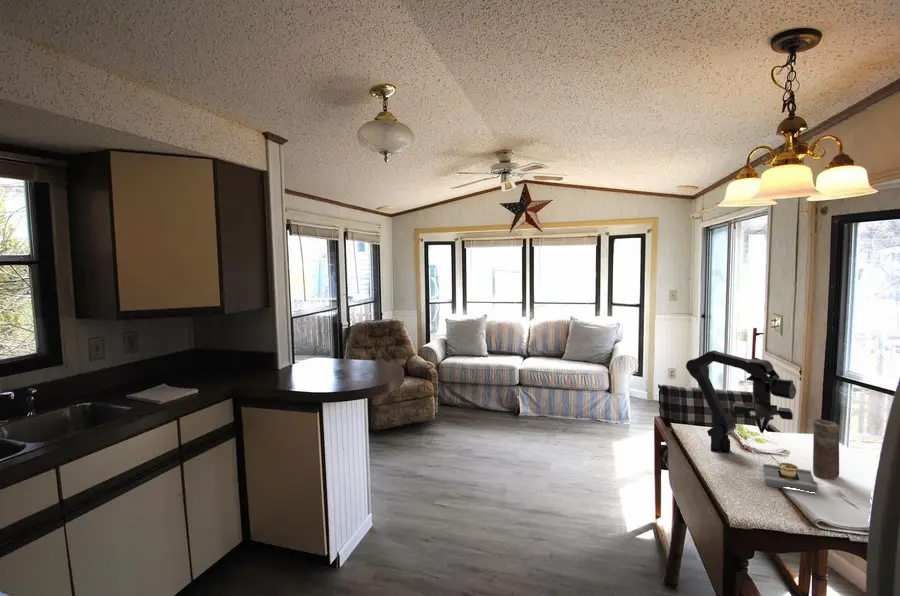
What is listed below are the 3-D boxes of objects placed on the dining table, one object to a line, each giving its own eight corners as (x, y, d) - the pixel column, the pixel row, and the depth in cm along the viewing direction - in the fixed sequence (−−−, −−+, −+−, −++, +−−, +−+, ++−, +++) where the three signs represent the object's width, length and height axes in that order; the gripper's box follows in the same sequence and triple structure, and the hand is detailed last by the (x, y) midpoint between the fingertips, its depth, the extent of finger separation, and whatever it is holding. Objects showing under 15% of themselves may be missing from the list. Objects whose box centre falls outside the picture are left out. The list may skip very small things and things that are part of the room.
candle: (814, 468, 168) (814, 416, 166) (840, 474, 163) (841, 421, 161) (811, 476, 163) (811, 422, 161) (837, 482, 157) (838, 427, 156)
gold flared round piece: (780, 484, 159) (780, 467, 158) (778, 477, 163) (778, 461, 163) (798, 487, 156) (798, 470, 156) (796, 480, 160) (796, 464, 160)
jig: (765, 485, 158) (765, 477, 158) (763, 471, 168) (763, 463, 168) (816, 494, 151) (816, 485, 151) (810, 478, 161) (810, 470, 161)
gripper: (733, 396, 171) (733, 436, 172) (794, 402, 161) (794, 444, 162) (732, 388, 180) (733, 426, 182) (790, 393, 171) (790, 433, 172)
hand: (761, 432), depth 174 cm, fingers closed
